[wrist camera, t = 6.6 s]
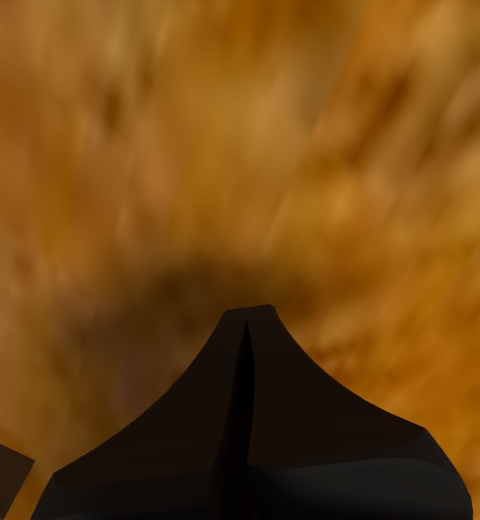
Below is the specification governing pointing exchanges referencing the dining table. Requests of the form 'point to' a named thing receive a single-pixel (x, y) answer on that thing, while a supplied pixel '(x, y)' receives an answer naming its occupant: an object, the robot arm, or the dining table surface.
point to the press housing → (11, 476)
